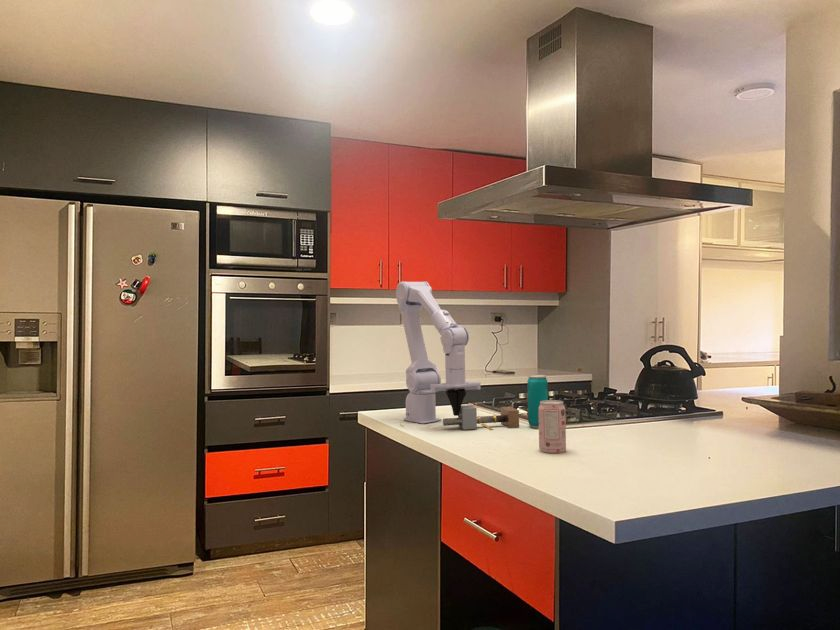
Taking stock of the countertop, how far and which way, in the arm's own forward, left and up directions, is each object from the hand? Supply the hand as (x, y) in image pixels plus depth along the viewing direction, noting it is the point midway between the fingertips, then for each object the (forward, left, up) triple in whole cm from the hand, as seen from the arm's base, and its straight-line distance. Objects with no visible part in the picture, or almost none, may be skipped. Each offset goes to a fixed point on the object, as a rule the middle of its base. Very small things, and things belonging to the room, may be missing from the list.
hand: (456, 415), depth 186 cm
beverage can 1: (+16, +18, -4) cm, 24 cm away
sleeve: (+2, +3, -4) cm, 5 cm away
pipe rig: (+4, +6, -4) cm, 8 cm away
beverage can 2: (+37, -3, -4) cm, 37 cm away
